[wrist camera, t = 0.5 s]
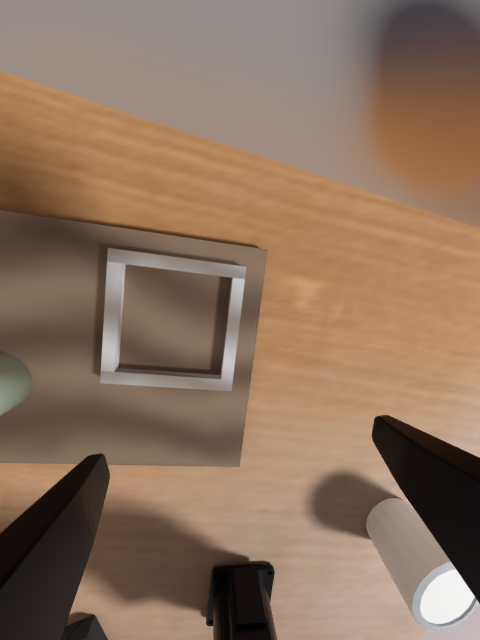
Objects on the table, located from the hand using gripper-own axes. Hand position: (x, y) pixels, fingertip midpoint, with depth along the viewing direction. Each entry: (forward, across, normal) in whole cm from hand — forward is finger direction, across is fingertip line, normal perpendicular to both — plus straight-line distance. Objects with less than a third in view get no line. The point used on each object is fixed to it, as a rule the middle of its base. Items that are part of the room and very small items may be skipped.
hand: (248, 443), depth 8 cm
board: (+14, +9, +2) cm, 17 cm away
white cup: (+11, -17, +24) cm, 31 cm away
